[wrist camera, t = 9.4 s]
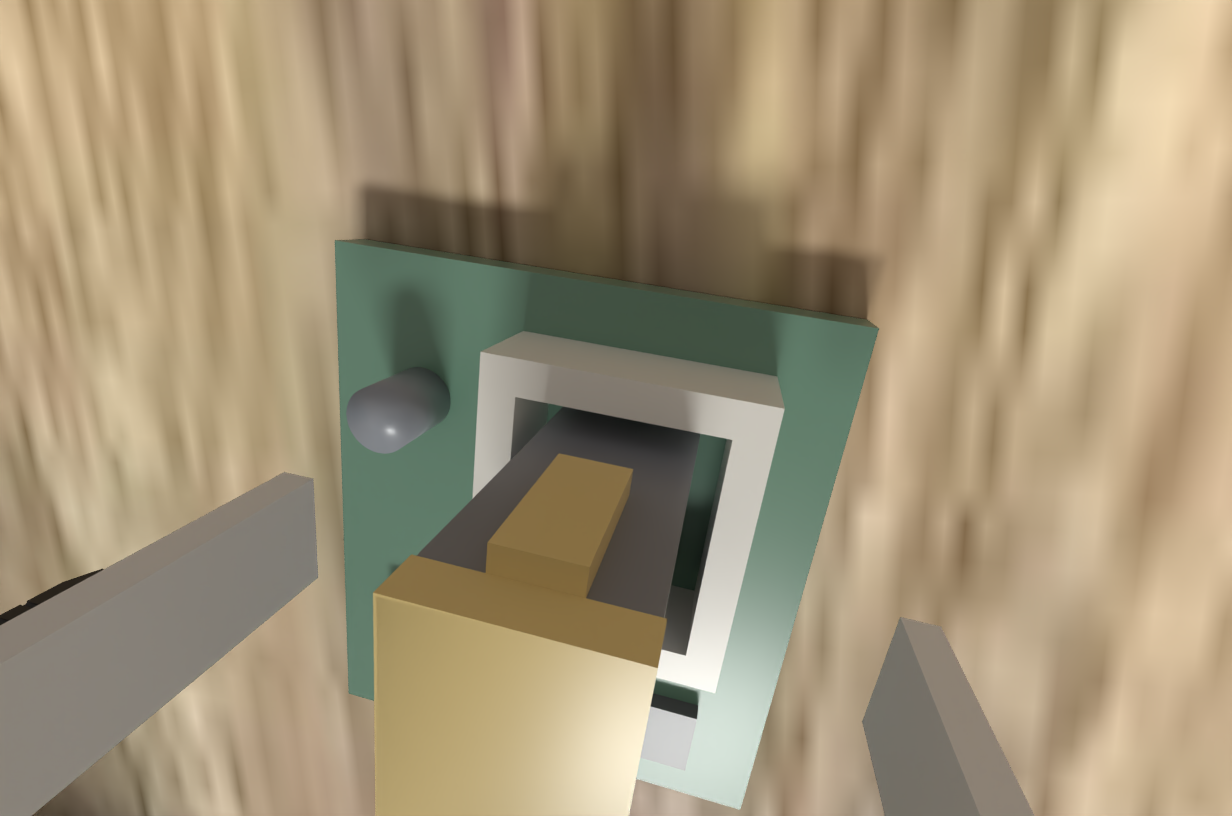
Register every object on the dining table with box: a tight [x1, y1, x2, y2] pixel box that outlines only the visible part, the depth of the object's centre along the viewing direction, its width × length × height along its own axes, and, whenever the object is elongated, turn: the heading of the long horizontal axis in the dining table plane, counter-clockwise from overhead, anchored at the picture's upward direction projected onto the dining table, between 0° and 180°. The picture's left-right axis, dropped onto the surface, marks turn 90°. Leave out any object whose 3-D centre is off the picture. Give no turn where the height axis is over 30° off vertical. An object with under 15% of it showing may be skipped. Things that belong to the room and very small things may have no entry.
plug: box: [373, 406, 701, 816], centre depth 13 cm, size 4×6×10 cm
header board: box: [335, 239, 879, 810], centre depth 18 cm, size 16×18×4 cm
